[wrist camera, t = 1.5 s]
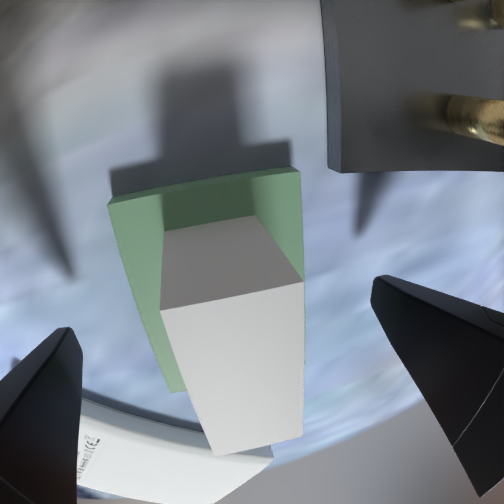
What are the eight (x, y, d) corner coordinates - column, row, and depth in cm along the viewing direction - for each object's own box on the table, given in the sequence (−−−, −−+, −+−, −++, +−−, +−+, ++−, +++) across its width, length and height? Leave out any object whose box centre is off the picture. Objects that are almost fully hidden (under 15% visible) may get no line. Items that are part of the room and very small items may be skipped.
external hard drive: (199, 491, 17) (17, 442, 12) (267, 435, 15) (26, 363, 10) (202, 510, 16) (13, 464, 11) (276, 460, 14) (15, 391, 9)
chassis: (528, 13, 7) (575, 15, 4) (533, 170, 11) (579, 189, 8) (308, -89, 5) (356, -137, 2) (328, 167, 9) (395, 198, 6)
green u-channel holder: (287, 164, 9) (373, 213, 5) (296, 347, 12) (342, 438, 8) (114, 194, 8) (65, 271, 4) (169, 374, 11) (178, 476, 7)
